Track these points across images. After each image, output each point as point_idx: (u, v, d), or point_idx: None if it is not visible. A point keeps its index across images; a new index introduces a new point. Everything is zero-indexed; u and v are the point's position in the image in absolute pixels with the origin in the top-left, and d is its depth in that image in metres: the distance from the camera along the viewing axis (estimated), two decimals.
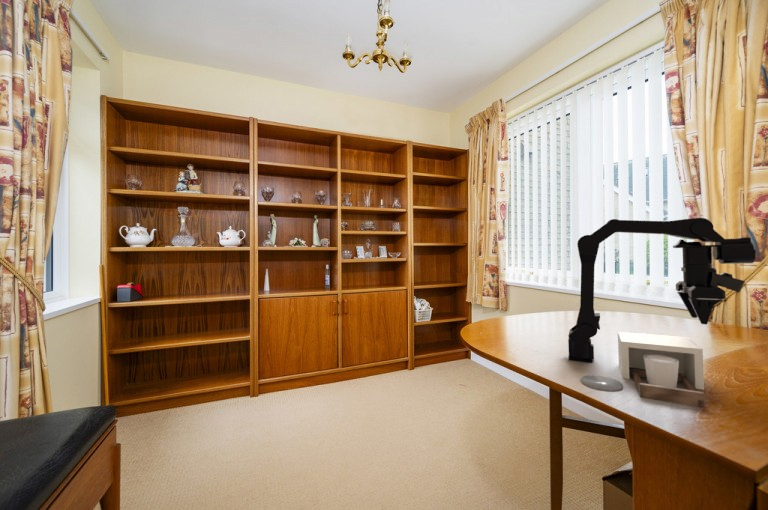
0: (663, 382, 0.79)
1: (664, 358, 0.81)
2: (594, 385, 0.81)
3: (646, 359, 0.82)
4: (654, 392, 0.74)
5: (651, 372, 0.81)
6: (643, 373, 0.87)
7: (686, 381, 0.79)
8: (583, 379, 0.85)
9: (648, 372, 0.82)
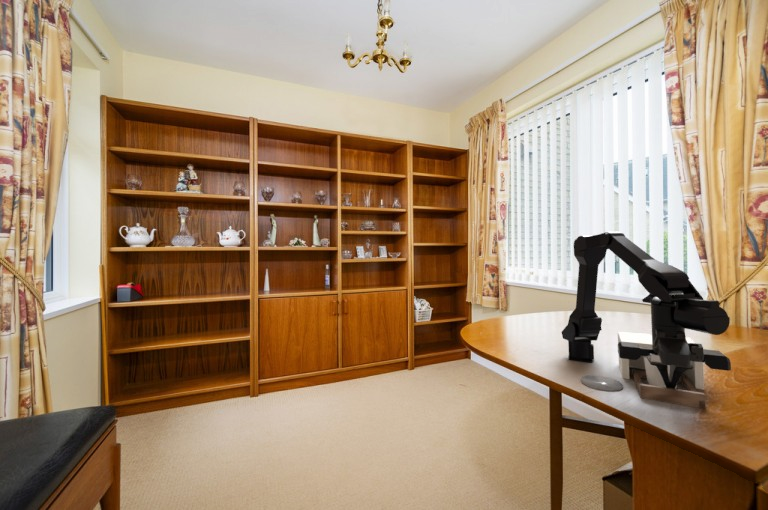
0: (663, 382, 0.79)
1: None
2: (594, 385, 0.81)
3: (646, 359, 0.82)
4: (655, 392, 0.73)
5: (651, 372, 0.81)
6: (643, 374, 0.86)
7: (687, 382, 0.79)
8: (583, 379, 0.85)
9: (648, 372, 0.82)
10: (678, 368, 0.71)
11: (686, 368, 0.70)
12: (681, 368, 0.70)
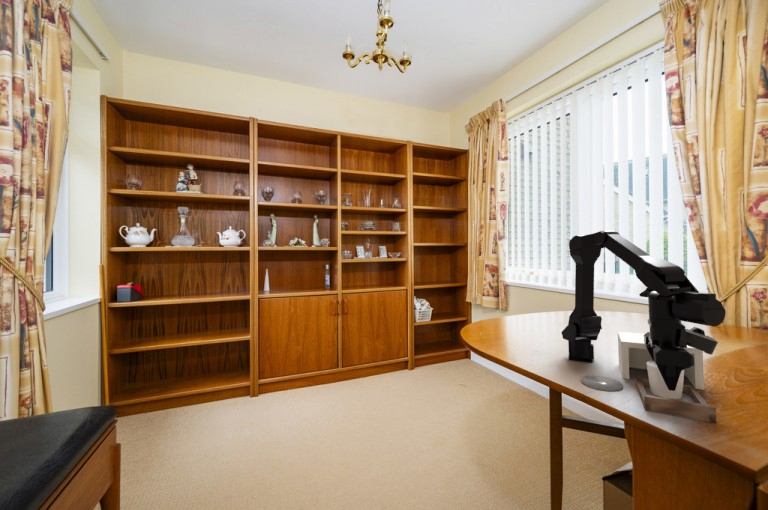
0: (666, 391, 0.74)
1: None
2: (594, 385, 0.81)
3: (648, 366, 0.77)
4: (660, 405, 0.68)
5: (654, 380, 0.76)
6: (647, 383, 0.80)
7: (694, 392, 0.73)
8: (583, 379, 0.85)
9: (651, 380, 0.77)
10: None
11: None
12: None
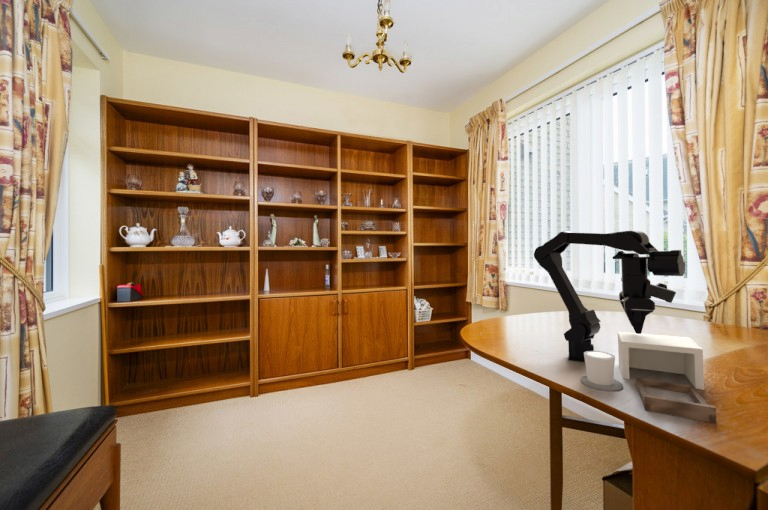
0: (598, 378, 0.82)
1: (602, 355, 0.83)
2: (594, 385, 0.81)
3: (584, 355, 0.85)
4: (660, 405, 0.68)
5: (588, 368, 0.83)
6: (647, 383, 0.80)
7: (694, 392, 0.73)
8: (583, 379, 0.85)
9: (586, 368, 0.84)
10: None
11: None
12: None
